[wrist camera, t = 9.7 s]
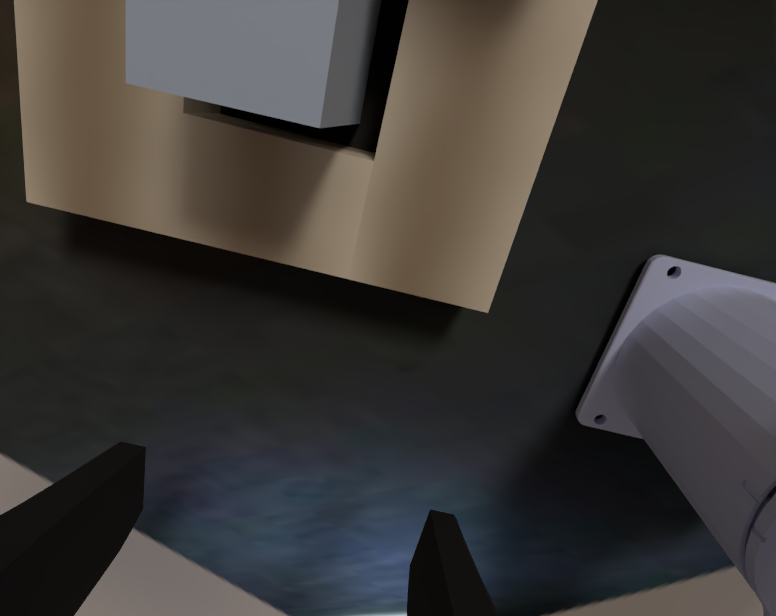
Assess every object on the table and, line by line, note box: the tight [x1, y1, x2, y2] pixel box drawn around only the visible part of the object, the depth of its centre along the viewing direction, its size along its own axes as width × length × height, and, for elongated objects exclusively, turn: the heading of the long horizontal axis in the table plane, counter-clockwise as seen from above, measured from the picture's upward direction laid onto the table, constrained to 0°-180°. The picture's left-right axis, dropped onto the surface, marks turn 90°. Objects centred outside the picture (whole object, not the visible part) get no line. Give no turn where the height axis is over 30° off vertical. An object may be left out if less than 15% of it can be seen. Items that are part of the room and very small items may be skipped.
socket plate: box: [14, 0, 597, 313], centre depth 15 cm, size 16×14×3 cm
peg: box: [126, 0, 382, 128], centre depth 12 cm, size 4×4×8 cm
